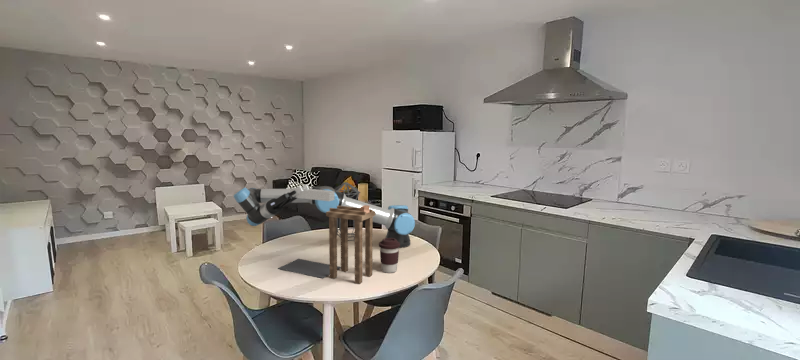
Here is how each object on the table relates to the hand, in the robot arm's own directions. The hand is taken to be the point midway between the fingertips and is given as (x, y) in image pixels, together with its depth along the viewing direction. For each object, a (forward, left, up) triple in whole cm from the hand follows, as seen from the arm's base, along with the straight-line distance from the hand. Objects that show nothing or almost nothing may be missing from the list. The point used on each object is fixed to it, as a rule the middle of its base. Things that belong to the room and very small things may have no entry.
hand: (304, 187), depth 175 cm
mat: (-2, +1, -39) cm, 39 cm away
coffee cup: (-40, +3, -39) cm, 56 cm away
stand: (-23, +11, -39) cm, 46 cm away
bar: (-4, +2, -5) cm, 6 cm away
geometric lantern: (-13, -48, -39) cm, 63 cm away
